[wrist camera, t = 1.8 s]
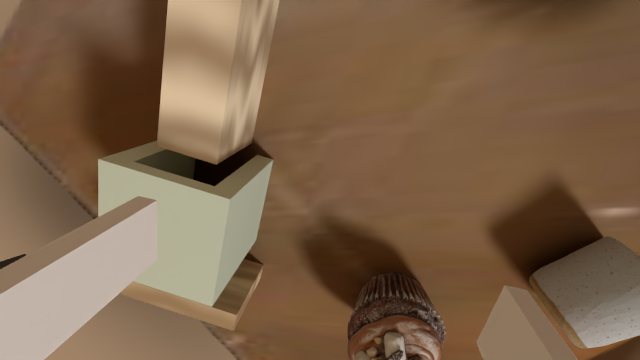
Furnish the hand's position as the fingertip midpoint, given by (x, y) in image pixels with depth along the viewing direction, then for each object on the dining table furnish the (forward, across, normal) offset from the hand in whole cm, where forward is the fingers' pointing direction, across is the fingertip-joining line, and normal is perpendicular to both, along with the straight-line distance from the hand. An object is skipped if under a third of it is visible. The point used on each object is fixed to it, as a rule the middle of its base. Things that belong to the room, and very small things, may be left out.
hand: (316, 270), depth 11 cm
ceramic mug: (+20, +26, -8) cm, 34 cm away
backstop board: (+20, -13, -16) cm, 29 cm away
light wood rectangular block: (+20, -12, +7) cm, 24 cm away
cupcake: (+20, +9, -16) cm, 27 cm away
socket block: (+20, -13, -7) cm, 24 cm away
